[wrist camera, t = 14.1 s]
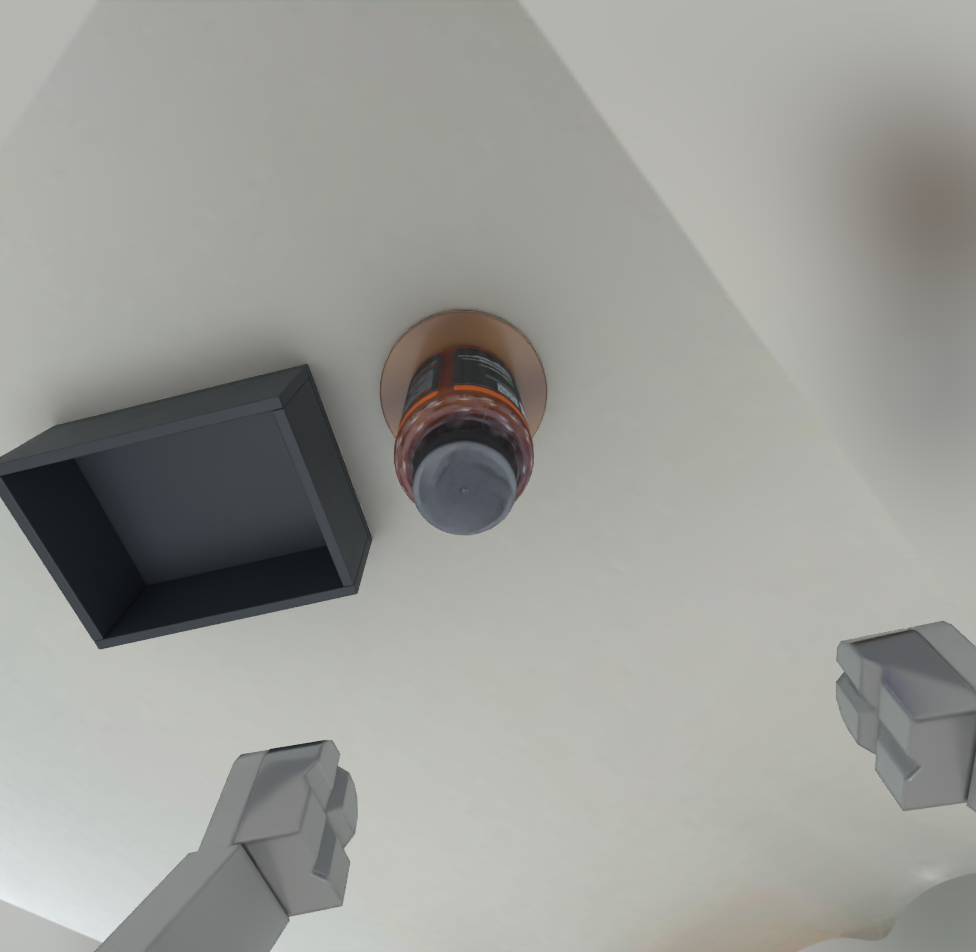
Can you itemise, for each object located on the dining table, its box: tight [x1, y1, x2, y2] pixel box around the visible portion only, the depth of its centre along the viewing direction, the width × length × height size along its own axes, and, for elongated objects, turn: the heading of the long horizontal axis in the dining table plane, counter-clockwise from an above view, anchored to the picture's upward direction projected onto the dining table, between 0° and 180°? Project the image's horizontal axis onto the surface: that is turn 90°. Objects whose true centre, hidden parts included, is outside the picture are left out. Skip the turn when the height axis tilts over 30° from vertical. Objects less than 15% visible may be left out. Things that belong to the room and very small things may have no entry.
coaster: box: [380, 310, 547, 438], centre depth 34 cm, size 9×9×1 cm
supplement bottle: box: [394, 345, 534, 535], centre depth 28 cm, size 6×6×11 cm
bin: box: [0, 364, 372, 649], centre depth 33 cm, size 11×15×6 cm
